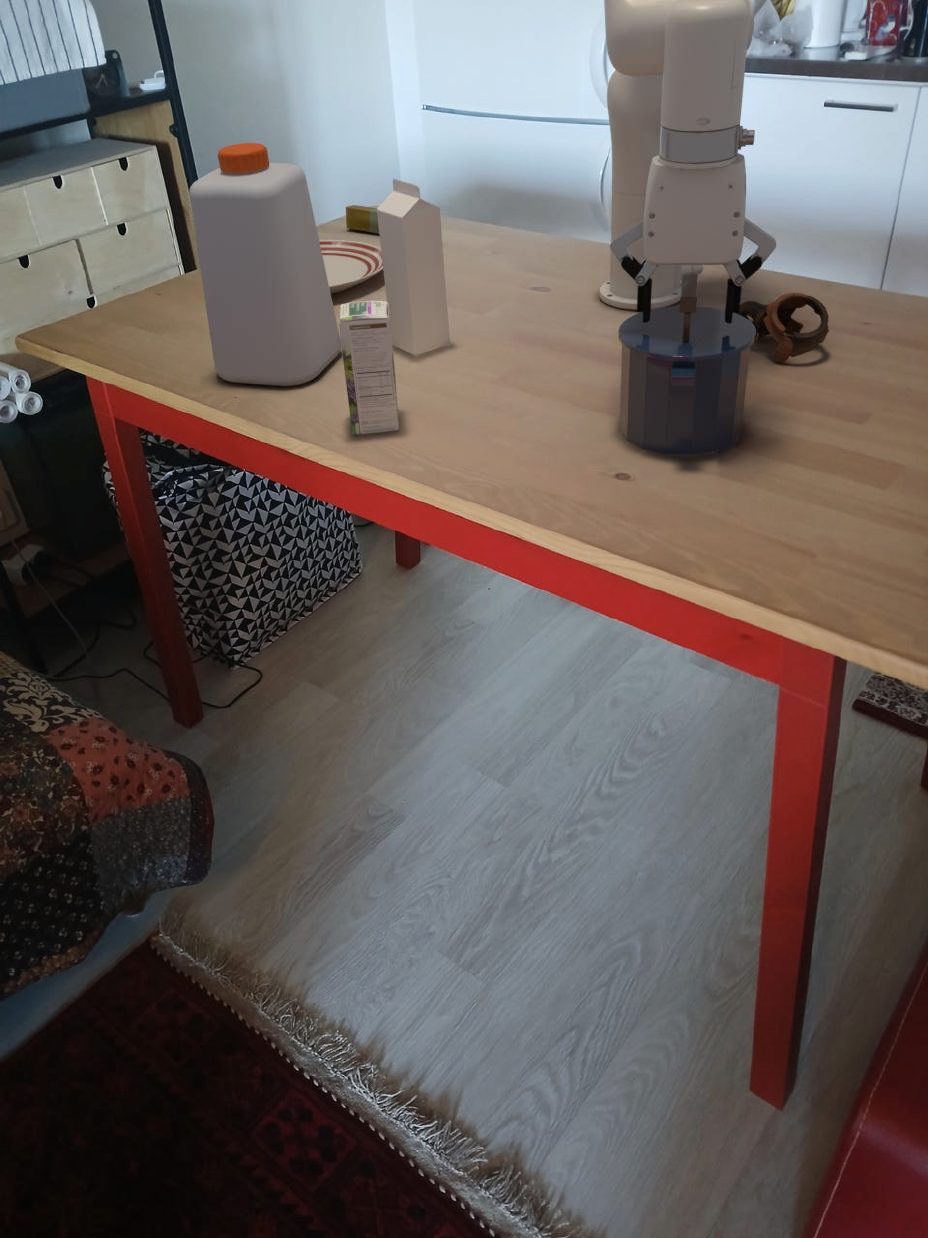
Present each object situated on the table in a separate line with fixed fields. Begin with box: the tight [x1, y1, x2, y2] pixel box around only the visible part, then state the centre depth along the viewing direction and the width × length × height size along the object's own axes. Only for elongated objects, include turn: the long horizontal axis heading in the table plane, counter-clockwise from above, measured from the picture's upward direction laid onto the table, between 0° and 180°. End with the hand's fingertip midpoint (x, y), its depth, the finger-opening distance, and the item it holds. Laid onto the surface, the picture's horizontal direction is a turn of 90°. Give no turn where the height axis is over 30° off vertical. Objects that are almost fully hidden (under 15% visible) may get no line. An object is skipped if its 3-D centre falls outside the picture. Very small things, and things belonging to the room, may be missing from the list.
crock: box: [619, 343, 751, 456], centre depth 115 cm, size 14×19×12 cm
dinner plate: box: [319, 239, 383, 295], centre depth 168 cm, size 27×27×3 cm
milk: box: [376, 178, 451, 357], centre depth 137 cm, size 6×6×22 cm
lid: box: [618, 274, 756, 362], centre depth 110 cm, size 15×15×6 cm
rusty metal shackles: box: [736, 292, 830, 364], centre depth 133 cm, size 12×10×8 cm
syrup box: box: [338, 300, 400, 436], centre depth 120 cm, size 6×6×14 cm
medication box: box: [345, 204, 379, 234], centre depth 188 cm, size 12×3×4 cm, turn 56°
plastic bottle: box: [189, 142, 342, 387], centre depth 133 cm, size 15×15×28 cm
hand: (687, 317), depth 110 cm, fingers open, 8 cm apart
